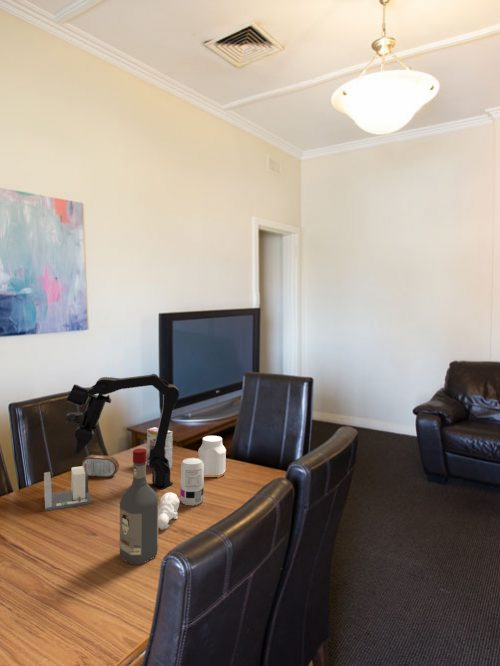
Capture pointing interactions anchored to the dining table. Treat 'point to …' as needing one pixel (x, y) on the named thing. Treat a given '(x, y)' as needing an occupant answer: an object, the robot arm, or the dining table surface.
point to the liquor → (139, 516)
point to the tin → (100, 465)
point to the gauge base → (60, 496)
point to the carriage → (79, 483)
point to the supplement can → (192, 481)
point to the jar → (213, 455)
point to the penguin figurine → (167, 509)
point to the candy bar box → (168, 444)
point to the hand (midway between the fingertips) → (78, 449)
